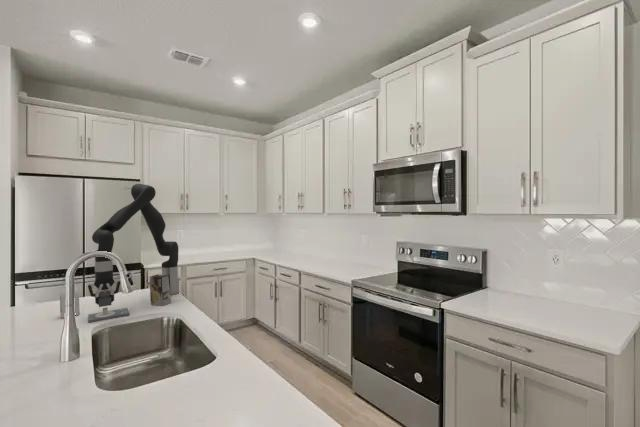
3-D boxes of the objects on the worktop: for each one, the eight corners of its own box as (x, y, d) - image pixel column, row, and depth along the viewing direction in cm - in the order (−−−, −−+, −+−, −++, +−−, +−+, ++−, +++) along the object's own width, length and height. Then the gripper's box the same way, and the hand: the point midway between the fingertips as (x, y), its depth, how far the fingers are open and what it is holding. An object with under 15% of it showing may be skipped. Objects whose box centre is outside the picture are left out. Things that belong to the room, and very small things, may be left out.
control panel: (127, 310, 172) (127, 301, 171) (129, 315, 163) (129, 306, 163) (88, 316, 162) (88, 308, 161) (88, 323, 153) (88, 314, 153)
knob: (111, 305, 160) (111, 290, 160) (98, 307, 157) (98, 292, 157) (110, 302, 165) (110, 288, 164) (98, 304, 162) (98, 290, 161)
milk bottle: (83, 313, 167) (82, 275, 167) (70, 318, 159) (69, 278, 159) (70, 313, 168) (68, 275, 167) (56, 318, 160) (55, 278, 160)
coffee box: (171, 302, 184) (170, 274, 183) (163, 305, 178) (162, 277, 177) (158, 301, 186) (157, 274, 186) (149, 304, 180) (148, 276, 180)
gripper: (86, 272, 153) (87, 307, 154) (121, 269, 162) (122, 302, 162) (86, 270, 159) (87, 304, 160) (120, 266, 168) (121, 298, 168)
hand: (105, 303), depth 161 cm, fingers closed on knob, 5 cm apart
